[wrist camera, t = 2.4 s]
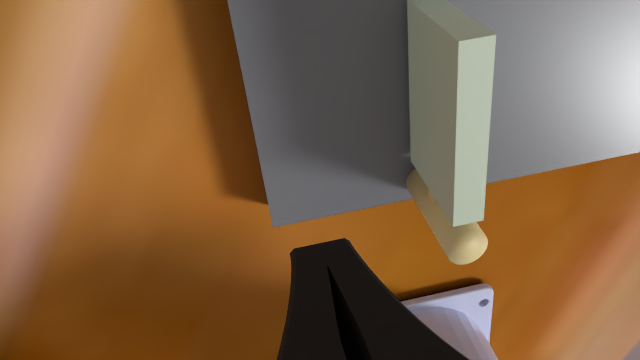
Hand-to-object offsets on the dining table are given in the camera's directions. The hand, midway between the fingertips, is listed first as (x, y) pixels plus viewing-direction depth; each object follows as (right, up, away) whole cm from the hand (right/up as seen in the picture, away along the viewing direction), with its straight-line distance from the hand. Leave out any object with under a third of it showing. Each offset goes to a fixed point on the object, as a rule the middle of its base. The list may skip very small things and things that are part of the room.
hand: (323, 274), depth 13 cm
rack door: (+4, +5, +6) cm, 9 cm away
